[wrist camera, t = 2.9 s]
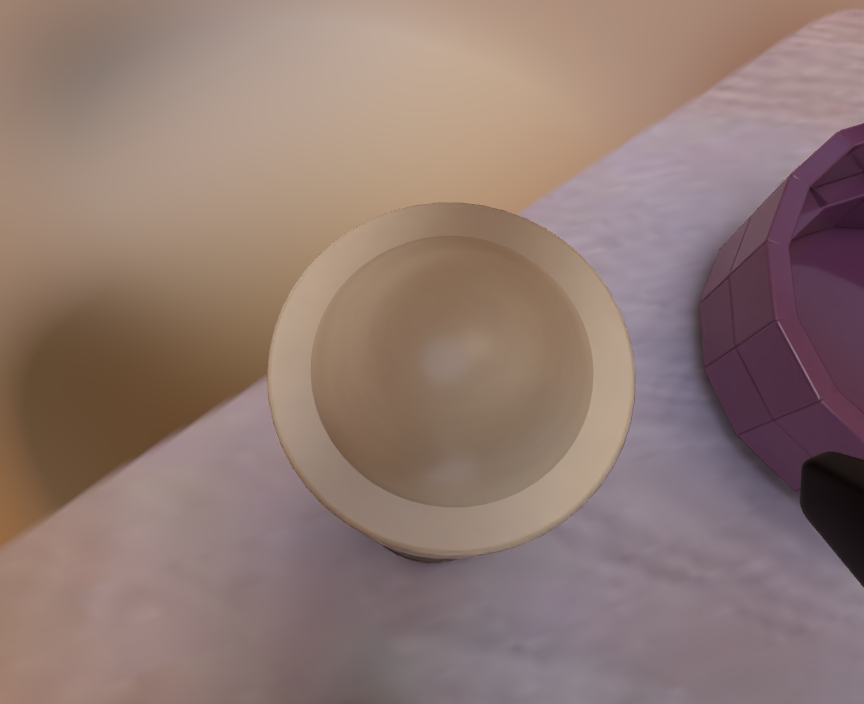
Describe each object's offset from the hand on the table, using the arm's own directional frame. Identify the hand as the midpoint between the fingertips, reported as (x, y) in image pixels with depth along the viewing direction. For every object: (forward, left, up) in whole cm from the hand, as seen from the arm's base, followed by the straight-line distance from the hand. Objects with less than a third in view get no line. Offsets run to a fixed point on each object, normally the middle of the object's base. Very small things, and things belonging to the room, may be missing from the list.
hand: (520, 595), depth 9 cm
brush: (+2, -2, -10) cm, 11 cm away
